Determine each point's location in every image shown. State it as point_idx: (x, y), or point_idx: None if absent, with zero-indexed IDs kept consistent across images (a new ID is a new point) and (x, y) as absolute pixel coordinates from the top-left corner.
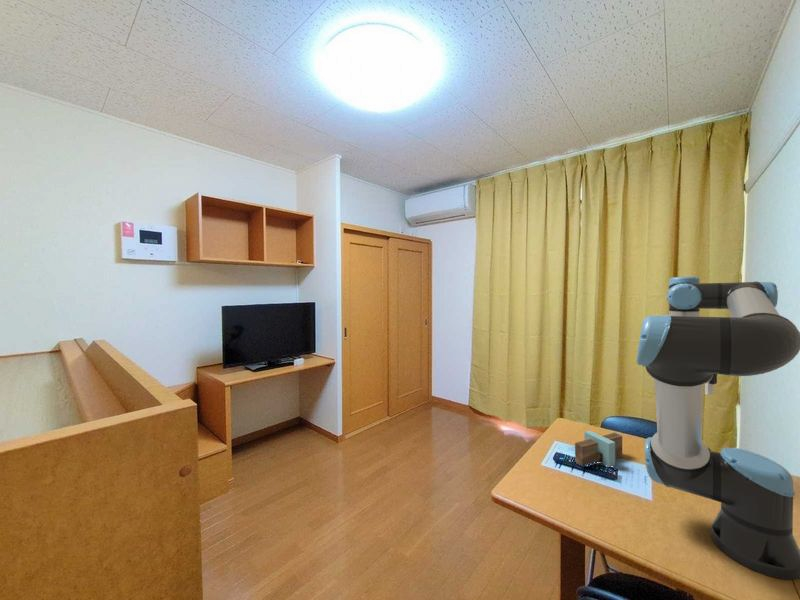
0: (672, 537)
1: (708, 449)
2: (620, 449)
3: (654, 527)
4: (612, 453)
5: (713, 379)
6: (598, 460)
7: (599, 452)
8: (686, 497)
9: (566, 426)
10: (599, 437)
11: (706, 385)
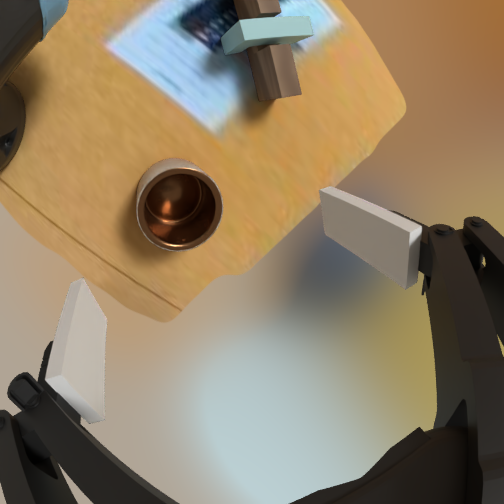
0: None
1: (167, 244)
2: (265, 93)
3: None
4: (233, 39)
5: (44, 368)
6: None
7: None
8: (101, 118)
9: (386, 92)
10: (275, 24)
11: (68, 313)
